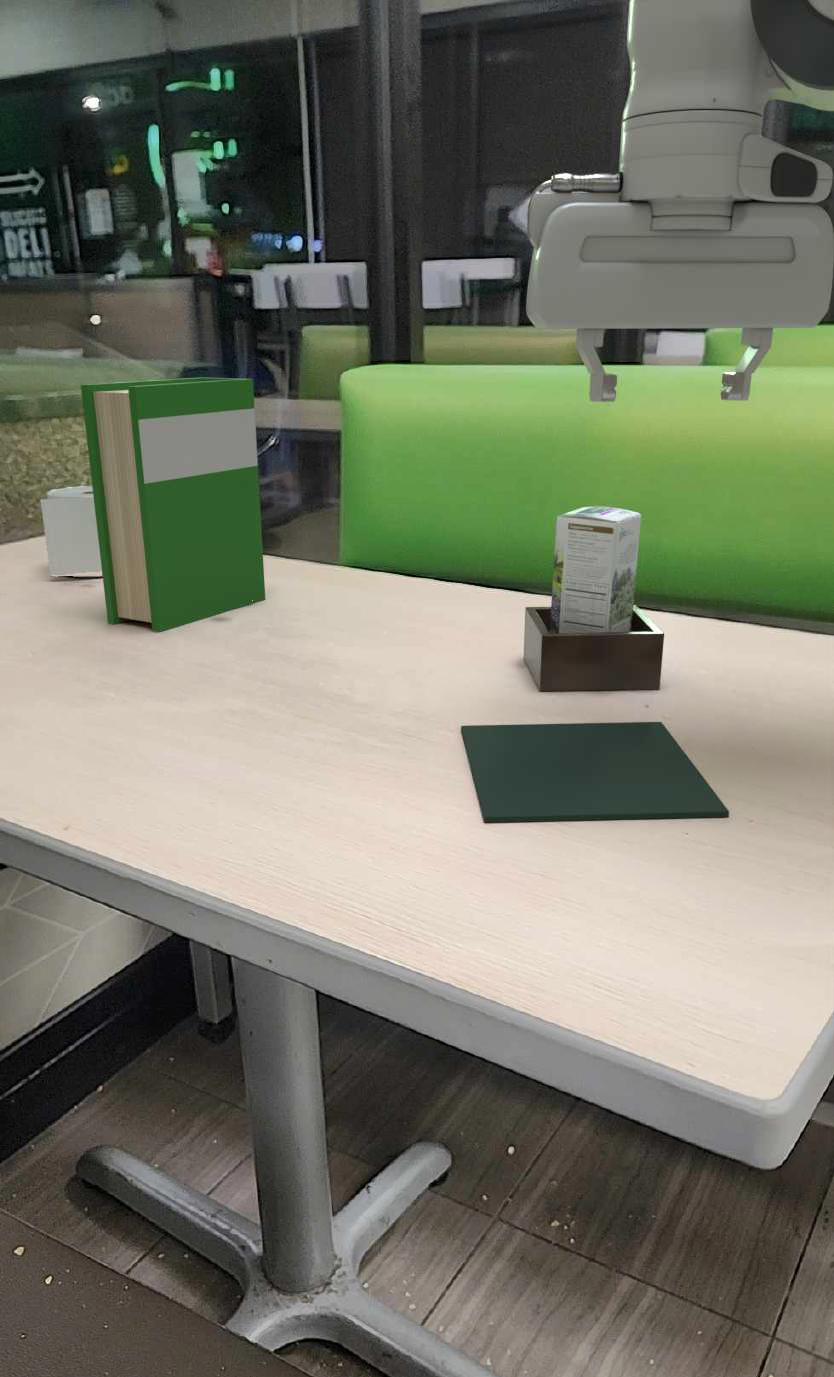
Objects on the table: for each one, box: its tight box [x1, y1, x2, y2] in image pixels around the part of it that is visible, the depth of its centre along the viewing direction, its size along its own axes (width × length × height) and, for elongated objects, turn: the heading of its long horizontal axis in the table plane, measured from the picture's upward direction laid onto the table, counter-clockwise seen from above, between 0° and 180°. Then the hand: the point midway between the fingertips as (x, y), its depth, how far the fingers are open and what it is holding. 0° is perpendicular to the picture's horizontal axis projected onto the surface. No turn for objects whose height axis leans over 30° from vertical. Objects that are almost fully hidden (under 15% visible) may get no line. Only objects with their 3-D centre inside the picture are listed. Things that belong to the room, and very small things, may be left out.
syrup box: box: [550, 506, 642, 633], centre depth 101 cm, size 6×6×14 cm
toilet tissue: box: [39, 485, 103, 578], centre depth 145 cm, size 11×12×10 cm
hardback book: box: [80, 376, 266, 633], centre depth 122 cm, size 18×7×24 cm, turn 148°
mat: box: [460, 721, 730, 823], centre depth 81 cm, size 16×18×1 cm
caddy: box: [523, 604, 665, 692], centre depth 102 cm, size 11×11×5 cm
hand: (668, 400), depth 79 cm, fingers open, 8 cm apart
